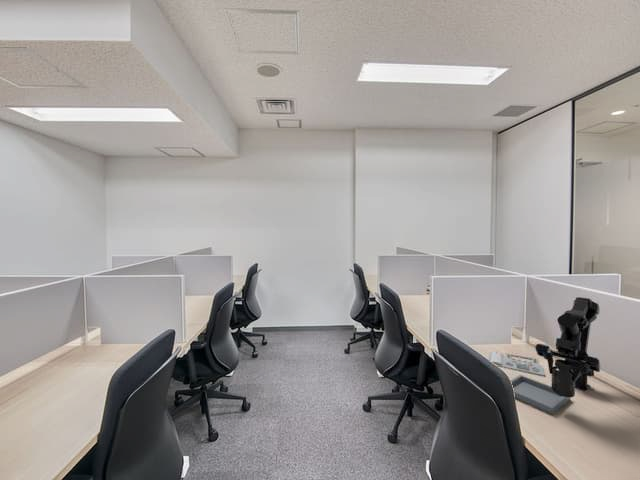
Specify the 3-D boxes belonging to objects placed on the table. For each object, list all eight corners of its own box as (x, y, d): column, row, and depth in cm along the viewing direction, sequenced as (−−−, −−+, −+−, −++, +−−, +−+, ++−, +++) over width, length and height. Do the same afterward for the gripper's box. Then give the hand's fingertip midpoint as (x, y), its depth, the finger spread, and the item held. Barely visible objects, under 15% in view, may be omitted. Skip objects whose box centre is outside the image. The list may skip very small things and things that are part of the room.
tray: (520, 380, 131) (520, 374, 131) (570, 399, 116) (570, 393, 116) (500, 392, 121) (500, 386, 121) (552, 415, 106) (552, 408, 106)
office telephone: (487, 360, 147) (489, 347, 164) (487, 365, 147) (489, 352, 164) (545, 372, 134) (540, 356, 151) (545, 377, 134) (540, 361, 151)
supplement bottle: (578, 399, 104) (578, 367, 104) (554, 395, 107) (555, 364, 107) (570, 390, 111) (570, 359, 110) (548, 386, 113) (549, 356, 113)
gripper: (537, 324, 118) (527, 357, 111) (599, 337, 103) (593, 376, 97) (542, 338, 123) (533, 371, 117) (602, 352, 108) (596, 391, 102)
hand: (562, 376), depth 108 cm, fingers closed on supplement bottle, 7 cm apart
